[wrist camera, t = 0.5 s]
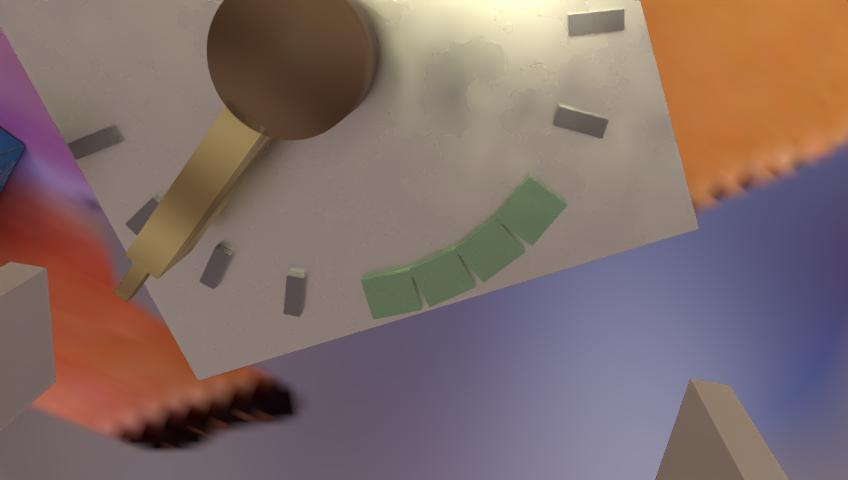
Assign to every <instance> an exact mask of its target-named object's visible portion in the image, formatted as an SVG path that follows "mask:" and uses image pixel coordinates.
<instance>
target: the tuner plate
mask: <svg viewBox="0 0 848 480" xmlns="http://www.w3.org/2000/svg"><path fill="white" fill-rule="evenodd" d="M223 1H224V0H0V27H1V29H2V30H3V32H4V34H5V36H6V38H7V39H8V41H9V43H10V45H11V47H12V48H13V50H14V52H15V54H16V56H17V57H18V59H19V61H20V63H21V64H22V66H23V68H24V70H25V72H26V73H27V75H28V77H29V79H30V81H31V82H32V84H33V86H34V88H35V90H36V91H37V93H38V95H39V97H40V98H41V100H42V102H43V104H44V106H45V107H46V109H47V111H48V113H49V115H50V116H51V118H52V120H53V122H54V124H55V125H56V127H57V129H58V131H59V132H60V134H61V136H62V138H63V140H64V141H65V143H66V145H67V147H68V149H69V150H70V152H71V154H72V156H73V158H74V159H75V161H76V163H77V165H78V166H79V168H80V170H81V172H82V174H83V175H84V177H85V179H86V181H87V183H88V184H89V186H90V188H91V190H92V192H93V193H94V195H95V197H96V199H97V201H98V202H99V204H100V206H101V208H102V209H103V211H104V213H105V215H106V217H107V218H108V220H109V222H110V224H111V226H112V227H113V229H114V231H115V233H116V235H117V236H118V238H119V240H120V242H121V243H122V245H123V247H124V249H125V251H126V252H127V250H128V249H129V247H130V246H131V244H132V243H133V241H134V240H135V238H136V237H137V235H138V234H139V232H140V231H141V229H142V228H143V227H144V225H145V224H146V222H147V221H148V219H149V218H150V216H151V215H152V213H153V212H154V210H155V209H156V207H157V206H158V204H159V203H160V201H161V200H162V198H163V197H164V196H165V194H166V193H167V191H168V190H169V188H170V187H171V185H172V184H173V182H174V181H175V179H176V178H177V176H178V175H179V173H180V172H181V170H182V169H183V167H184V166H185V165H186V163H187V162H188V160H189V159H190V157H191V156H192V154H193V153H194V151H195V150H196V148H197V147H198V145H199V144H200V142H201V141H202V139H203V138H204V136H205V135H206V134H207V132H208V131H209V129H210V128H211V126H212V125H213V123H214V122H215V120H216V119H217V117H218V116H219V114H220V113H221V111H222V110H223V108H224V107H225V104H224V103H223V102H222V100H221V99H220V97H219V95H218V93H217V91H216V89H215V87H214V85H213V82H212V80H211V76H210V73H209V69H208V62H207V38H208V33H209V29H210V25H211V22H212V20H213V17H214V15H215V13H216V11H217V9H218V8H219V6H220V5H221V3H222V2H223ZM355 1H357V3H358V4H359V5H360V6H361V7H362V9H363V10H364V12H365V13H366V15H367V16H368V18H369V20H370V22H371V24H372V27H373V29H374V32H375V36H376V40H377V45H378V68H377V73H376V77H375V80H374V83H373V86H372V88H371V90H370V92H369V93H368V95H367V96H366V98H365V99H364V101H363V102H362V103H361V104H360V105H359V106H358V107H357V108H356V109H355V110H354V111H353V112H351V113H350V114H349V115H348V116H346V117H345V118H344V119H343V120H341V121H340V122H339V123H338V124H336V125H335V126H334V127H332V128H331V129H329V130H328V131H326V132H324V133H322V134H320V135H318V136H315V137H312V138H308V139H302V140H281V139H275V138H273V139H272V141H271V142H270V143H269V145H268V146H267V148H266V149H265V150H264V152H263V153H262V154H261V156H260V157H259V159H258V160H257V161H256V163H255V164H254V166H253V167H252V168H251V170H250V171H249V172H248V174H247V175H246V177H245V178H244V179H243V181H242V182H241V183H240V185H239V186H238V188H237V189H236V190H235V192H234V193H233V195H232V196H231V197H230V199H229V200H228V201H227V203H226V204H225V206H224V207H223V208H222V210H221V211H220V212H219V214H218V215H217V217H216V218H215V219H214V221H213V222H212V224H211V225H210V226H209V228H208V229H207V230H206V232H205V233H204V235H203V236H202V237H201V239H200V240H199V241H198V243H197V244H196V246H195V247H194V248H193V250H192V251H191V252H190V253H189V254H187V255H186V256H185V257H184V258H183V259H181V260H180V261H179V262H178V263H177V264H175V265H174V266H173V267H172V268H171V269H169V270H168V271H167V272H166V273H165V274H163V275H162V276H161V277H160V278H159V279H156V278H155V277H153V276H152V275H149V277H148V278H147V280H146V281H145V282H144V285H145V286H146V288H147V290H148V292H149V294H150V295H151V297H152V299H153V301H154V303H155V304H156V306H157V308H158V310H159V311H160V313H161V315H162V317H163V319H164V320H165V322H166V324H167V326H168V328H169V329H170V331H171V333H172V335H173V337H174V338H175V340H176V342H177V344H178V346H179V347H180V349H181V351H182V353H183V354H184V356H185V358H186V360H187V362H188V363H189V365H190V367H191V369H192V371H193V372H194V374H195V376H196V378H197V380H198V381H199V380H202V379H205V378H209V377H212V376H215V375H218V374H222V373H225V372H228V371H232V370H235V369H238V368H242V367H245V366H248V365H251V364H255V363H258V362H261V361H265V360H268V359H271V358H274V357H278V356H281V355H284V354H288V353H291V352H294V351H298V350H301V349H304V348H307V347H311V346H314V345H317V344H321V343H324V342H327V341H330V340H334V339H337V338H340V337H343V336H347V335H350V334H353V333H357V332H360V331H363V330H367V329H370V328H373V327H377V326H380V325H383V324H386V323H390V322H393V321H396V320H400V319H403V318H406V317H409V316H413V315H416V314H419V313H422V312H426V311H429V310H432V309H436V308H439V307H442V306H445V305H449V304H452V303H455V302H459V301H462V300H466V299H469V298H472V297H475V296H479V295H482V294H485V293H489V292H492V291H495V290H498V289H502V288H505V287H508V286H512V285H515V284H518V283H522V282H524V281H528V280H531V279H535V278H538V277H541V276H544V275H548V274H551V273H554V272H558V271H561V270H564V269H567V268H571V267H574V266H578V265H581V264H584V263H587V262H591V261H594V260H597V259H601V258H604V257H607V256H611V255H614V254H617V253H620V252H623V251H627V250H630V249H634V248H637V247H640V246H643V245H646V244H650V243H653V242H656V241H660V240H663V239H667V238H670V237H673V236H676V235H680V234H683V233H686V232H690V231H693V230H696V229H699V227H698V224H697V219H696V216H695V212H694V208H693V204H692V200H691V196H690V192H689V189H688V185H687V181H686V177H685V173H684V169H683V165H682V161H681V158H680V154H679V150H678V146H677V142H676V138H675V134H674V130H673V127H672V123H671V119H670V115H669V111H668V107H667V103H666V100H665V96H664V92H663V88H662V84H661V80H660V76H659V72H658V69H657V65H656V61H655V57H654V53H653V49H652V45H651V41H650V38H649V34H648V30H647V26H646V22H645V18H644V14H643V11H642V7H641V3H640V0H355ZM132 263H134V262H132Z"/></svg>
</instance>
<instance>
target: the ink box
mask: <svg viewBox="0 0 848 480" xmlns="http://www.w3.org/2000/svg"><path fill="white" fill-rule="evenodd" d="M23 150H24V145H23V144H22V143H21V142H20V141H18V140H17V139H15V138H14V137H13V136H11V135H10V134H8V133H7V132H5V131H4V130H3V129H1V128H0V193H1V191H2V189H3V187H4V185H5V184H6V182H7V180H8V178H9V176H10V174H11V172H12V170H13V169H14V167H15V165H16V163H17V161H18V159H19V157H20V156H21V154H22V152H23Z"/></svg>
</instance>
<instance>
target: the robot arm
mask: <svg viewBox="0 0 848 480" xmlns="http://www.w3.org/2000/svg"><path fill="white" fill-rule="evenodd" d="M55 382H56V376H55V364H54V351H53V339H52V327H51V314H50V302H49V290H48V277H47V268H44V267H38V266H32V265H26V264H20V263H14V262H9V263H8V264H6V265H4V266H2V267H0V431H1V430H2V429H3V428H5V427H6V426H7V425H8V424H9V423H10V422H11V421H12V420H13V419H15V418H16V416H18V415H19V414H20V413H21V412H22V411H24V410H25V409H26V408H27V407H28V406H29V405H30V404H31V403H33V402H34V401H35V400H36V399H37V398H38V397H39V396H40V395H42V394H43V393H44V392H45V391H46V390H47V389H48V388H49V387H51V386H52V385H53V384H54V383H55ZM655 480H788V478H787V477H786V475H785V473H784V472H783V470H782V469H781V467H780V466H779V464H778V463H777V461H776V459H775V457H774V456H773V454H772V453H771V451H770V450H769V448H768V447H767V445H766V443H765V442H764V440H763V438H762V437H761V435H760V434H759V432H758V430H757V429H756V427H755V426H754V424H753V422H752V421H751V419H750V418H749V416H748V414H747V413H746V411H745V410H744V408H743V406H742V405H741V403H740V402H739V400H738V399H737V397H736V395H735V394H734V392H733V391H732V389H731V387H730V386H729V385H725V384H720V383H713V382H707V381H702V380H695V379H690V381H689V384H688V387H687V389H686V393H685V395H684V398H683V401H682V404H681V407H680V410H679V413H678V415H677V418H676V421H675V424H674V427H673V430H672V433H671V436H670V439H669V441H668V444H667V448H666V450H665V453H664V456H663V459H662V462H661V465H660V467H659V470H658V473H657V476H656V479H655Z"/></svg>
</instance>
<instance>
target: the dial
mask: <svg viewBox="0 0 848 480" xmlns="http://www.w3.org/2000/svg"><path fill="white" fill-rule="evenodd" d="M207 62H208V69H209V73H210V76H211V80H212V82H213V85H214V87H215V89H216V91H217V93H218V95H219V97H220V99H221V100H222V102H223V103H224V104H225V107H224V108H223V110H222V111H221V113H220V114H219V116H218V117H217V119H216V120H215V122H214V123H213V125H212V126H211V128H210V129H209V131H208V132H207V134H206V135H205V136H204V138H203V139H202V141H201V142H200V144H199V145H198V147H197V148H196V150H195V151H194V153H193V154H192V156H191V157H190V159H189V160H188V162H187V163H186V165H185V166H184V167H183V169H182V170H181V172H180V173H179V175H178V176H177V178H176V179H175V181H174V182H173V184H172V185H171V187H170V188H169V190H168V191H167V193H166V194H165V196H164V197H163V198H162V200H161V201H160V203H159V204H158V206H157V207H156V209H155V210H154V212H153V213H152V215H151V216H150V218H149V219H148V221H147V222H146V224H145V225H144V227H143V228H142V229H141V231H140V232H139V234H138V235H137V237H136V238H135V240H134V241H133V243H132V244H131V246H130V247H129V249H128V250H127V252H126V253H125V255H124V256H126V257H127V258H128V259H130V260H131V261H132V262H134V263H133V265H132V266H131V268H130V269H129V271H128V272H127V274H126V275H125V277H124V278H123V279H122V281H121V282H120V284H119V285H118V287H117V288H116V290H115V291H114V293H115V294H116V295H118V296H119V297H120V298H122V299H123V300H125V301H126V302H127V301H128V300H130V299H131V298H132V297H133V296H134V295H136V294H137V292H138V291H139V290H140V288H141V287H142V285H143V284H144V282H145V281H146V280H147V278H148V277H149V275H152V276H153V277H155V278H156V279H159V278H160V277H161V276H162V275H163V274H165V273H166V272H167V271H168V270H169V269H171V268H172V267H173V266H174V265H175V264H177V263H178V262H179V261H180V260H181V259H183V258H184V257H185V256H186V255H187V254H189V253H190V252H191V251H192V250H193V248H194V247H195V246H196V244H197V243H198V241H199V240H200V239H201V237H202V236H203V235H204V233H205V232H206V230H207V229H208V228H209V226H210V225H211V224H212V222H213V221H214V219H215V218H216V217H217V215H218V214H219V212H220V211H221V210H222V208H223V207H224V206H225V204H226V203H227V201H228V200H229V199H230V197H231V196H232V195H233V193H234V192H235V190H236V189H237V188H238V186H239V185H240V183H241V182H242V181H243V179H244V178H245V177H246V175H247V174H248V172H249V171H250V170H251V168H252V167H253V166H254V164H255V163H256V161H257V160H258V159H259V157H260V156H261V154H262V153H263V152H264V150H265V149H266V148H267V146H268V145H269V143H270V142H271V141H272V139H273V138H275V139H281V140H302V139H308V138H312V137H315V136H318V135H320V134H322V133H324V132H326V131H328V130H329V129H331V128H332V127H334V126H335V125H336V124H338V123H339V122H340V121H341V120H343V119H344V118H345V117H346V116H348V115H349V114H350V113H351V112H353V111H354V110H355V109H356V108H357V107H358V106H359V105H360V104H361V103H362V102H363V101H364V99H365V98H366V96H367V95H368V93H369V92H370V90H371V88H372V86H373V83H374V80H375V77H376V73H377V68H378V45H377V40H376V36H375V32H374V29H373V27H372V24H371V22H370V20H369V18H368V16H367V15H366V13H365V12H364V10H363V9H362V7H361V6H360V5H359V4H358V3H357V1H355V0H224V1H223V2H222V3H221V5H220V6H219V8H218V9H217V11H216V13H215V15H214V17H213V20H212V22H211V25H210V29H209V33H208V38H207Z"/></svg>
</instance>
